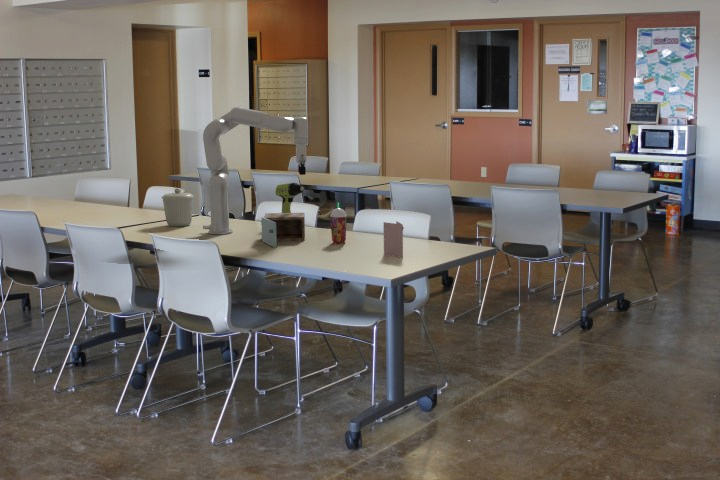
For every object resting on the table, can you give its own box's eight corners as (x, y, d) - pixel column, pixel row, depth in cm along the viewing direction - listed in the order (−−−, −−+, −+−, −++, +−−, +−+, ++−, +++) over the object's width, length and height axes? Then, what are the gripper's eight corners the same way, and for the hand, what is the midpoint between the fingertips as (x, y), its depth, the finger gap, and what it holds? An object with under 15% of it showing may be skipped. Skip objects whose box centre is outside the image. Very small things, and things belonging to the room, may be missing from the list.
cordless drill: (310, 230, 508) (309, 183, 504) (300, 231, 503) (299, 184, 499) (285, 225, 525) (284, 180, 521) (274, 226, 521) (273, 181, 517)
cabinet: (264, 241, 473) (263, 217, 471) (266, 236, 489) (265, 213, 487) (304, 240, 474) (304, 216, 472) (304, 235, 490) (304, 212, 488)
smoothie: (349, 241, 469) (349, 201, 465) (344, 244, 461) (343, 204, 457) (334, 241, 471) (333, 201, 468) (328, 244, 464) (327, 203, 460)
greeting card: (404, 257, 426) (404, 224, 423) (388, 258, 424) (388, 225, 422) (398, 253, 437) (398, 220, 434) (382, 253, 435) (382, 221, 433)
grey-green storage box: (258, 241, 473) (257, 217, 471) (264, 240, 474) (263, 217, 472) (271, 247, 454) (270, 222, 452) (276, 247, 455) (276, 222, 453)
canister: (202, 224, 534) (200, 187, 530) (180, 228, 519) (178, 190, 515) (178, 222, 544) (176, 185, 540) (155, 226, 529) (154, 188, 525)
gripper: (293, 140, 503) (293, 172, 506) (295, 142, 486) (295, 175, 489) (307, 140, 504) (308, 172, 506) (309, 142, 487) (310, 175, 489)
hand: (302, 173), depth 497 cm, fingers open, 9 cm apart
